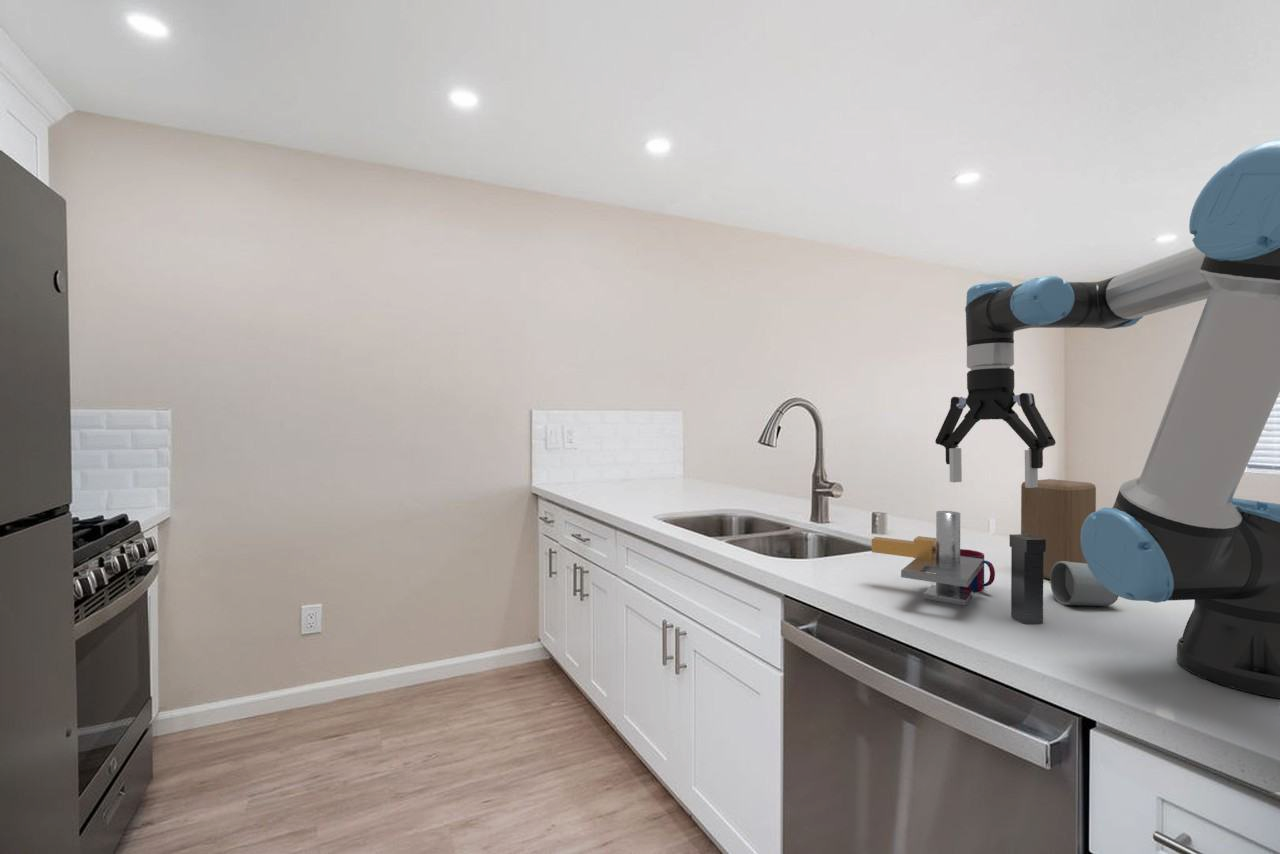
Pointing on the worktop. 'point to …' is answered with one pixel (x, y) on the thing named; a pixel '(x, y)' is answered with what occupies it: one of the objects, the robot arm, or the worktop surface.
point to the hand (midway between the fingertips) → (991, 484)
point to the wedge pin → (1027, 578)
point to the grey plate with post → (936, 560)
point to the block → (1057, 518)
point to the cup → (979, 579)
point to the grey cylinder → (1078, 586)
